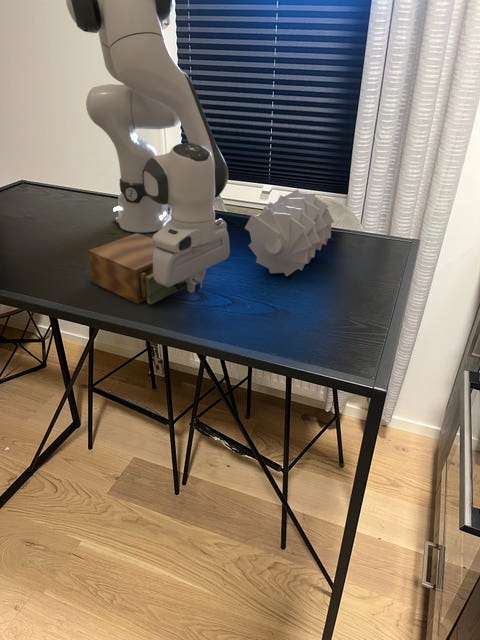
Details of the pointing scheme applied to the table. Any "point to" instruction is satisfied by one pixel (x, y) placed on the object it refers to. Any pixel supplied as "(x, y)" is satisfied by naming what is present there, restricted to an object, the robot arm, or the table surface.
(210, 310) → the table surface
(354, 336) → the table surface
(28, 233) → the table surface
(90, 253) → the cabinet
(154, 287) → the drawer
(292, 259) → the spiral staircase
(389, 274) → the table surface
